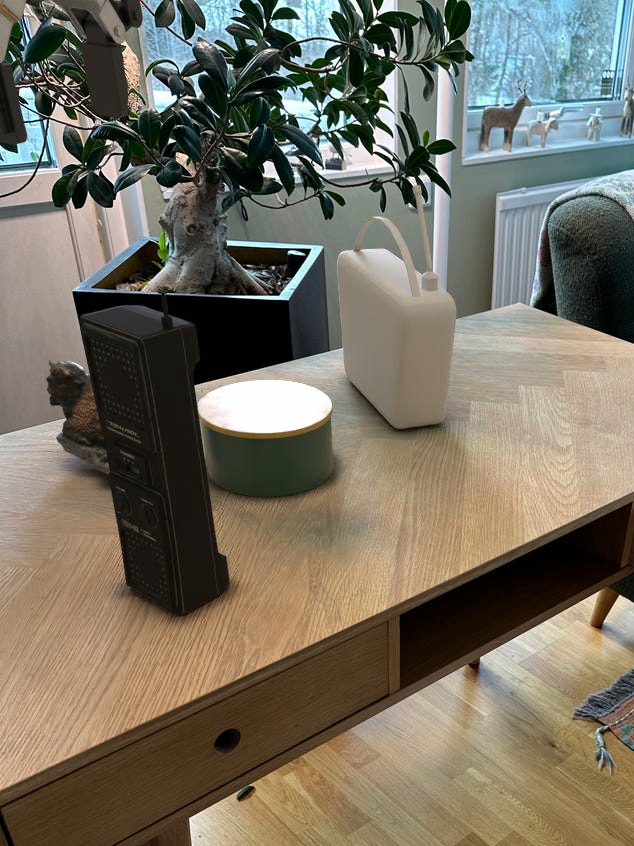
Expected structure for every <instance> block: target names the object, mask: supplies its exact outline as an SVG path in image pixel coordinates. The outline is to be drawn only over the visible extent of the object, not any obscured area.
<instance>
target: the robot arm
mask: <svg viewBox="0 0 634 846" xmlns="http://www.w3.org/2000/svg"><path fill="white" fill-rule="evenodd" d="M51 1H52V3H53V4H55V5H56V6H58V7H60V8H61V9H62V10H63V12H65V14H66V15H67V16H68V18H69V19H70V21H71V23H72V24H73V26H74V27H75V29H76V30H77V31H78V33H79V34H80V36H81V37H82V38H83V39H85V40H84V41H79V47H80V52H81V57H82V63H83V68H84V73H85V79H86V84H87V89H88V94H89V100H90V105H91V108H92V110H93V111H94V113H95V114H96V115H98V116H103V117H108V118H113V119H120V118H124V117H126V116H128V115H129V113H130V112H129V111H130V110H129V88H128V84H127V76H126V70H125V63H124V57H123V51H122V44H123V43H125V40H126V33H127V32H128V31H129V30H130V29H132V28H135V29H139V28H141V26H142V25H143V21H144V16H143V15H144V14H143V10H142V3H141V0H51ZM42 2H45V0H0V143H2V144H6V145H13V146H16V145H19V144H25V143H26V142H27V140H28V133H27V127H26V124H25V120H24V115H23V112H22V106H21V102H20V98H19V93H18V89H17V86H16V81H15V76H14V73H13V69H12V68H13V67H12V64H11V63H5V62H4V61H5V59H6V55H7V50H8V46H9V42H10V38H11V33H12V29H13V26H14V25H15V24H16V23H18V22H20V21H21V20H22V18H23V16H24V13H25V8H26V4H29V5H30V4H40V3H42Z"/></svg>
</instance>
